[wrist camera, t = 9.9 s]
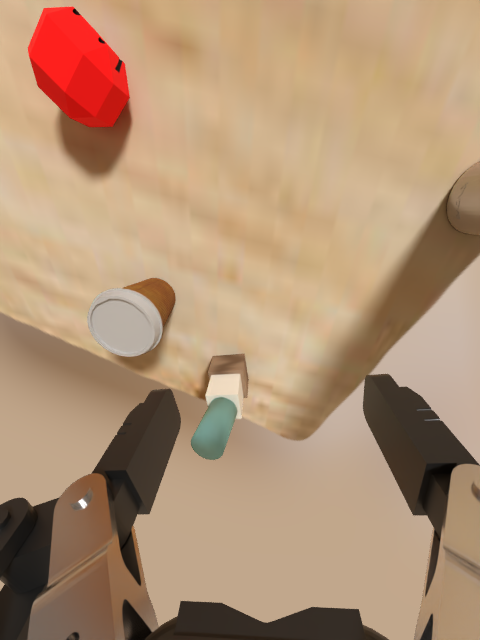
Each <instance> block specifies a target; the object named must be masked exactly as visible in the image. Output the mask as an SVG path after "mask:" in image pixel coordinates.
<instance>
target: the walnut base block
mask: <svg viewBox="0 0 480 640" xmlns="http://www.w3.org/2000/svg"><path fill="white" fill-rule="evenodd" d="M222 374H240V375H241V382H242V390H243V398H247V395H248V374H247V367H246V361H245V355H244V354H235V355H223V356H213V357H212V361H211V364H210V367H209V370H208V375H209V379H210V378H211V375H222Z"/></svg>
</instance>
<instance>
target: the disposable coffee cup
mask: <svg viewBox="0 0 480 640" xmlns="http://www.w3.org/2000/svg"><path fill="white" fill-rule="evenodd" d="M174 304H175V293H174V291H173V289H172V287H171V286H170V285H169V284H168V283H167V282H165V281H163V280H161V279H158V278H151V279H147V280H145V281H142V282H139V283H136V284H133V285H130V286H127V287H124V288H115V289H109V290H106V291H104V292H102V293H100V294H99V295H98V296H97V297H96V298H95V299H94V300H93V302H92V304H91V307H90V309H89V312H88V317H87V321H88V327H89V330H90V332H91V334H92V336H93V337H94V339H95V340H96V341H97V342H98V343H99V344H100V345H101V346H102V347H103V348H105V349H106V350H108V351H110V352H111V353H114V354H117V355H119V356H126V357H132V356H138V355H141V354H143V353H147V352H149V351H151V350H152V349H153V348H155V347H156V346H157V344H158V343H159V341H160V339H161V336H162V332H163V327H164V325H165V323H166V321H167V319H168V316H169V314H170V312H171V310H172V308H173V306H174Z"/></svg>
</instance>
